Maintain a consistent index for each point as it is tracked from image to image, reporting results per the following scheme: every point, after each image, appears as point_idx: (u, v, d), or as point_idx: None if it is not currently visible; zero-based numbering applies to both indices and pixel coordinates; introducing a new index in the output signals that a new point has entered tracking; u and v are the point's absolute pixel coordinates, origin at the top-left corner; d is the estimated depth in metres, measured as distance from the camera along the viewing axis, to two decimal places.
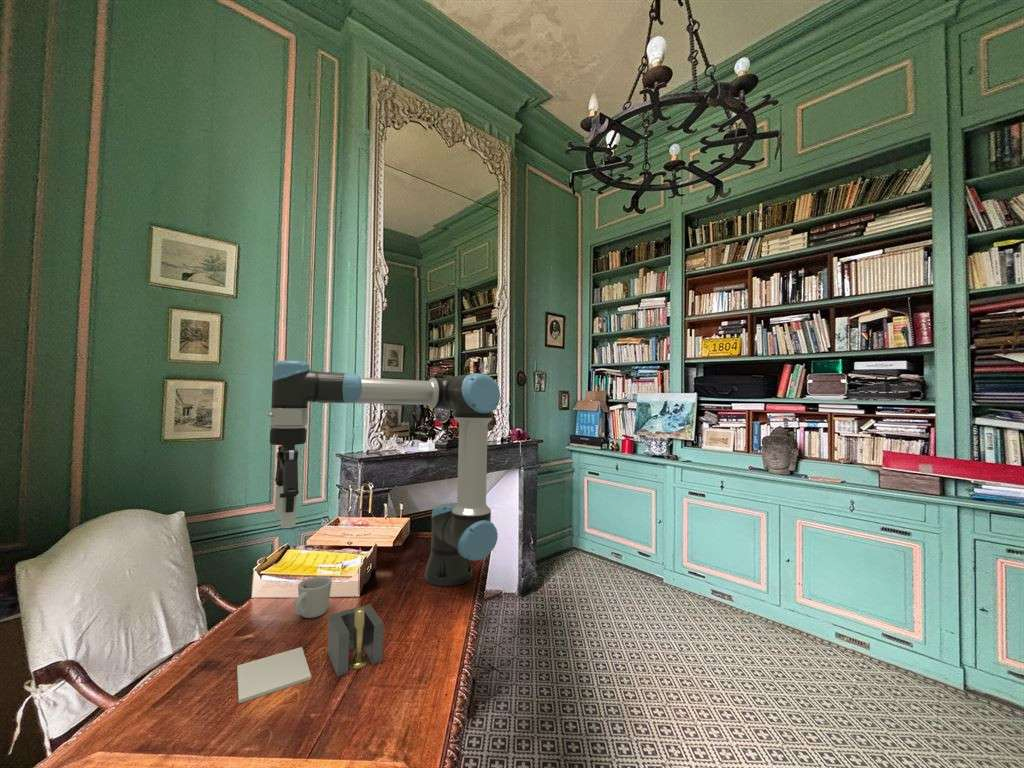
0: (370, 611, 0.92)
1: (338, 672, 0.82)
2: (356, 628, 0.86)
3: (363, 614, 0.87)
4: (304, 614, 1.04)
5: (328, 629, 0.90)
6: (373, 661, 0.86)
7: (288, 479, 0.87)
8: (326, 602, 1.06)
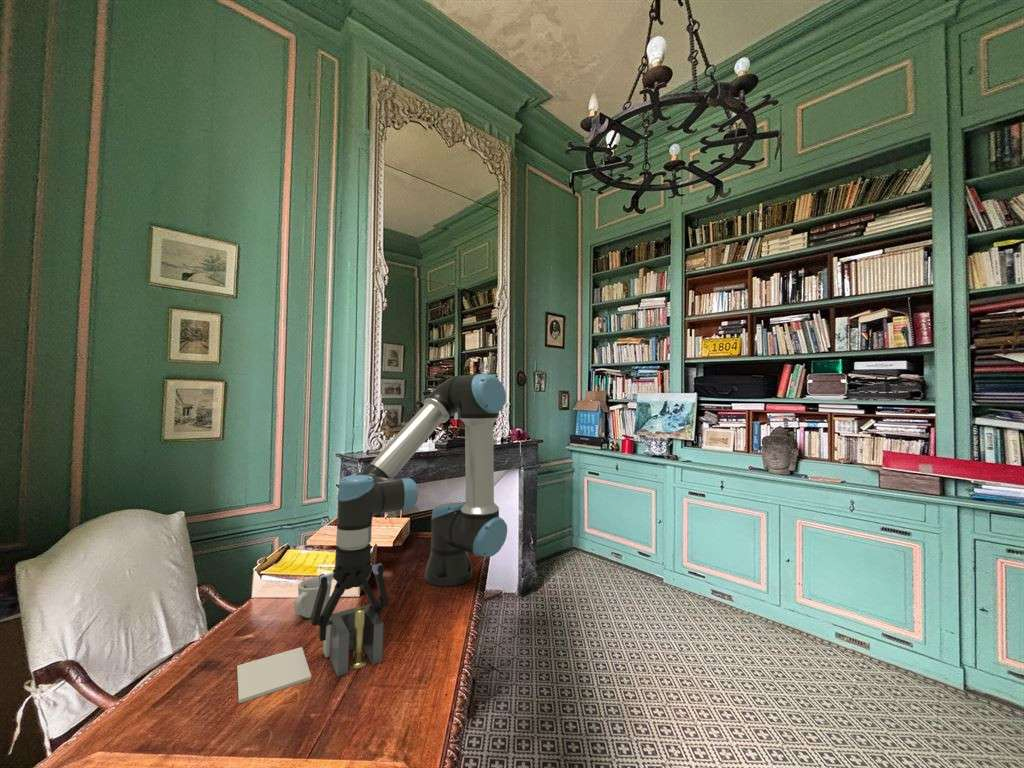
0: (370, 611, 0.92)
1: (338, 672, 0.82)
2: (356, 628, 0.86)
3: (363, 614, 0.87)
4: (304, 614, 1.04)
5: None
6: (373, 661, 0.86)
7: (314, 606, 0.89)
8: (326, 602, 1.06)
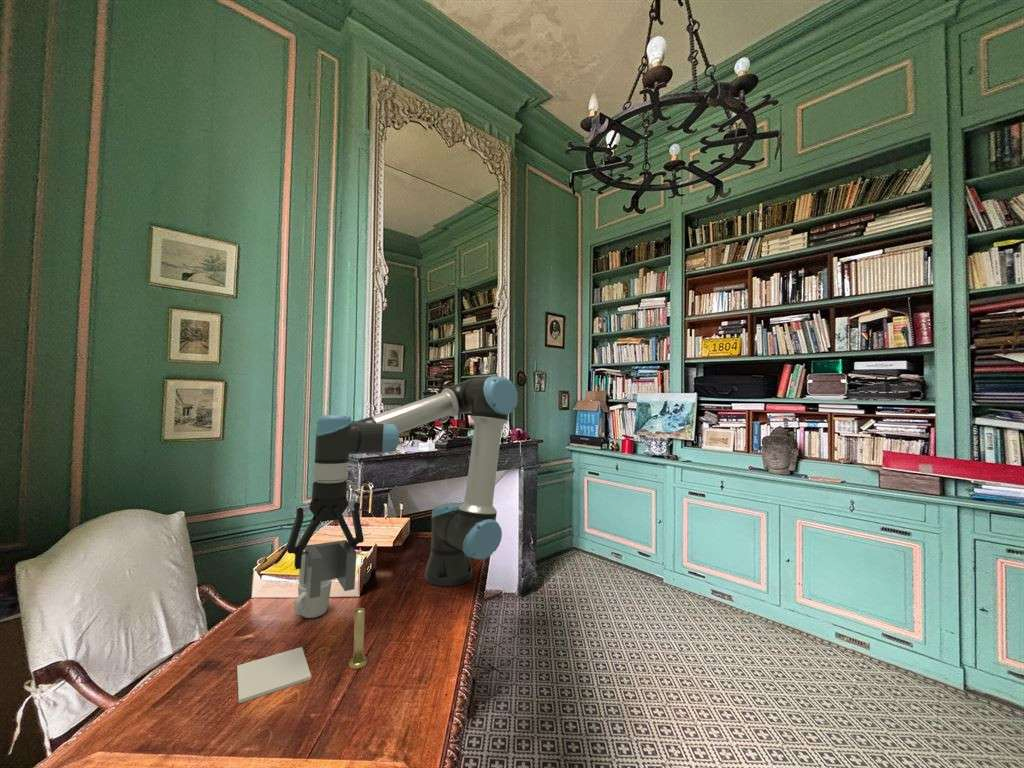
0: (345, 544, 0.95)
1: (310, 594, 0.85)
2: (356, 628, 0.86)
3: (363, 614, 0.87)
4: (304, 614, 1.04)
5: None
6: (345, 588, 0.89)
7: (290, 535, 0.92)
8: (326, 602, 1.06)
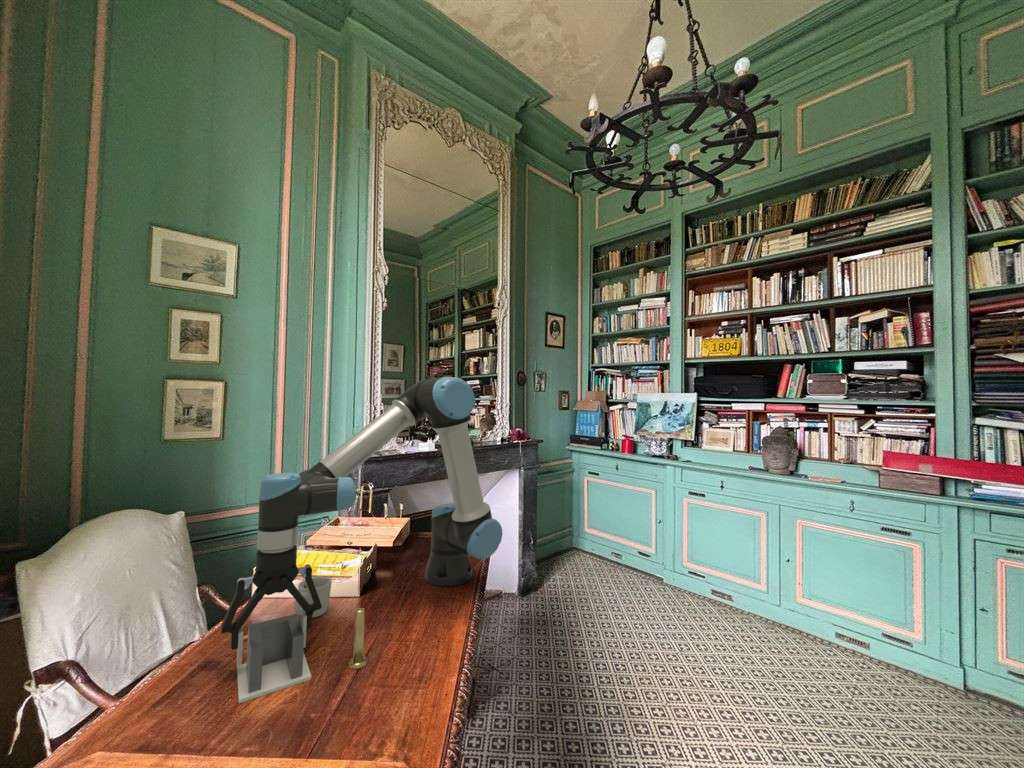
0: (294, 622, 0.86)
1: (249, 688, 0.76)
2: (356, 628, 0.86)
3: (363, 614, 0.87)
4: None
5: None
6: (291, 676, 0.80)
7: (227, 611, 0.82)
8: (326, 602, 1.06)
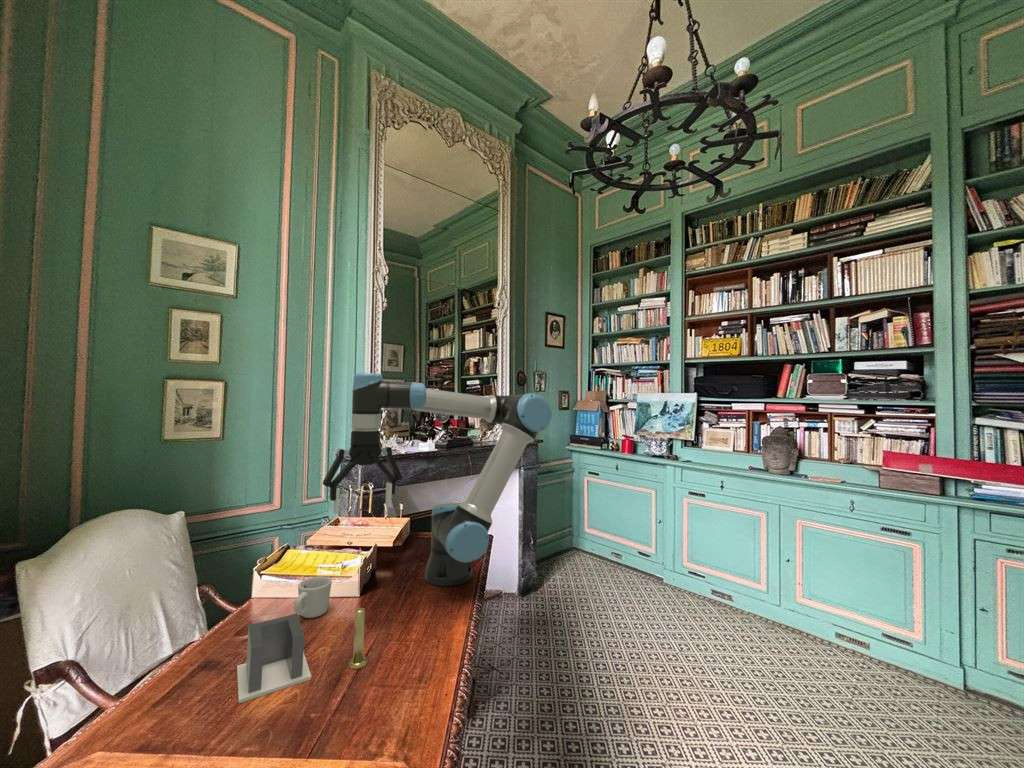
0: (294, 622, 0.86)
1: (249, 688, 0.76)
2: (356, 628, 0.86)
3: (363, 614, 0.87)
4: (304, 614, 1.04)
5: None
6: (291, 676, 0.80)
7: (328, 472, 1.05)
8: (326, 602, 1.06)
